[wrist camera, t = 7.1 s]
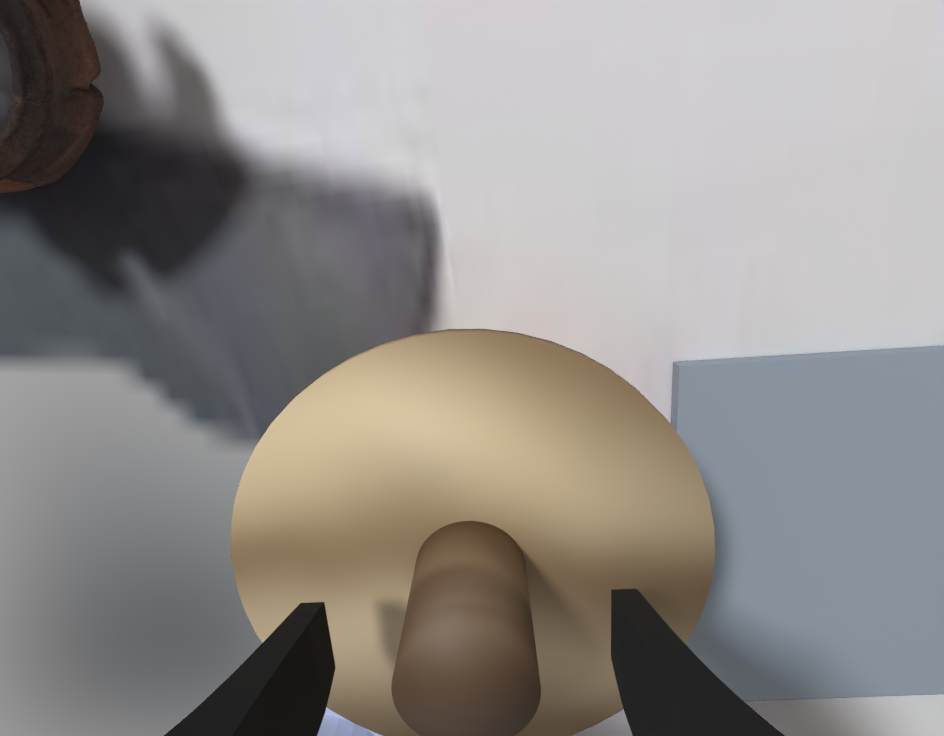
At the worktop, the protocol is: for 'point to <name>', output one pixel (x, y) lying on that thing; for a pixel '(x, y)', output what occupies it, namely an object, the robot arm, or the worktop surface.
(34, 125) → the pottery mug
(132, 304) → the worktop surface
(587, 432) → the oak lid
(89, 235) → the worktop surface
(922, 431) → the rubber mat
